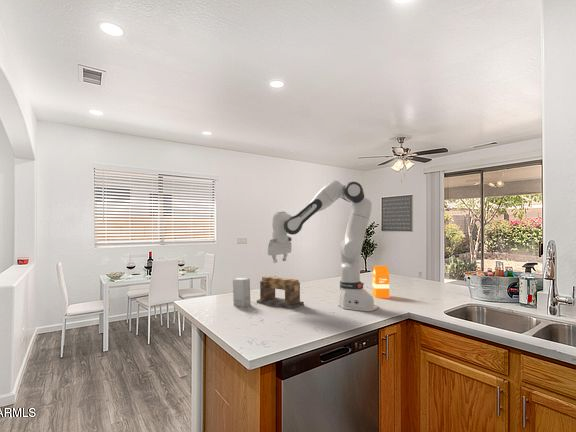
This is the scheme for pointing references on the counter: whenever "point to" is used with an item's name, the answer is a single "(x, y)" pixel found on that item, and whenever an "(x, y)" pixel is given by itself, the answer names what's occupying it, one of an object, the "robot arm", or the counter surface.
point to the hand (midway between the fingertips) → (279, 261)
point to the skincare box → (241, 291)
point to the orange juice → (380, 282)
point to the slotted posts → (269, 298)
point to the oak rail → (281, 282)
